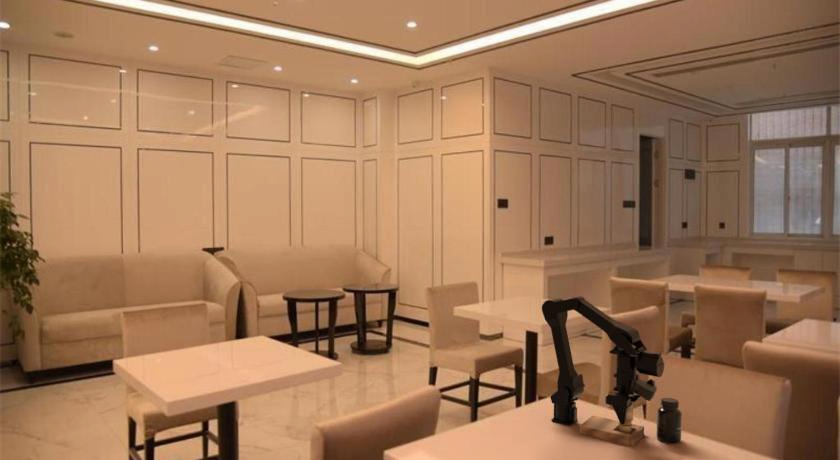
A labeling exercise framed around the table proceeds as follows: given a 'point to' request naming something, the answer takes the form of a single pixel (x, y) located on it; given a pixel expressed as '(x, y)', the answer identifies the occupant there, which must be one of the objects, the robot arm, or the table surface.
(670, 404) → the supplement bottle
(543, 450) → the table surface
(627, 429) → the peg
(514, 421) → the table surface
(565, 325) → the robot arm
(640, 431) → the board
